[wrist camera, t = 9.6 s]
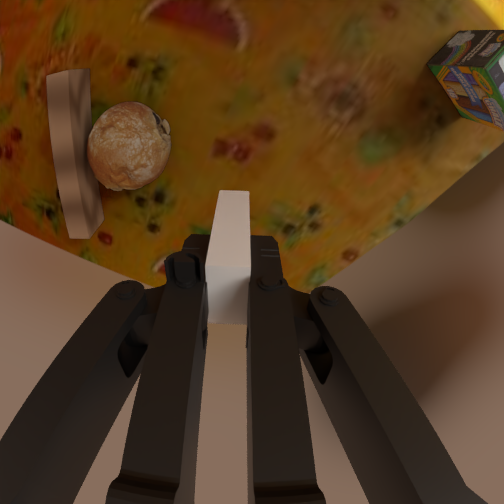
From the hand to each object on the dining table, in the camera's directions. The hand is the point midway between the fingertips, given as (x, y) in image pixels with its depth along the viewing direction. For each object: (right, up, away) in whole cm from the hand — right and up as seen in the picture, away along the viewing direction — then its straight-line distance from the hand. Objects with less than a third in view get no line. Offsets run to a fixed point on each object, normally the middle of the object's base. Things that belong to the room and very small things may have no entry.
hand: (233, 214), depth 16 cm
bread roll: (-13, +11, +16) cm, 23 cm away
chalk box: (+28, +21, +10) cm, 37 cm away
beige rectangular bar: (-20, +11, +16) cm, 27 cm away
